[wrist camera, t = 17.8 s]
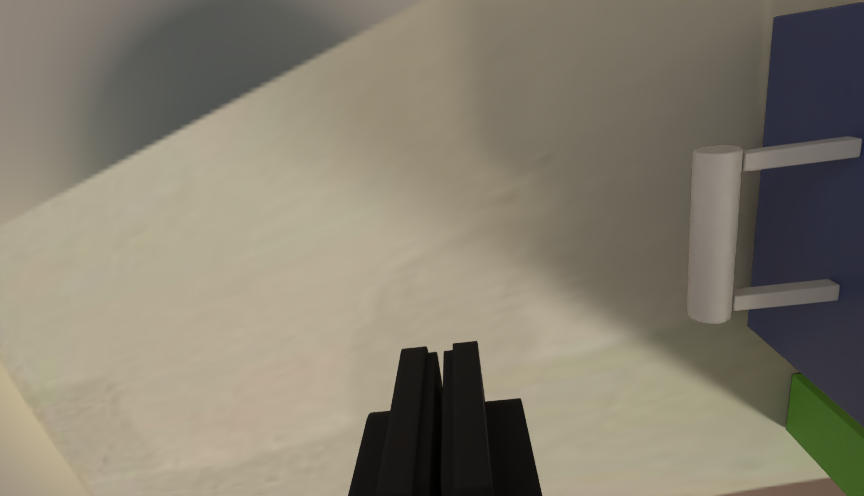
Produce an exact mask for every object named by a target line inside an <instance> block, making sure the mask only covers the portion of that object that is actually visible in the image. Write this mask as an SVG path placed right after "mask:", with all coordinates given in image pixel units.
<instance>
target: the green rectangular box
mask: <svg viewBox="0 0 864 496" xmlns="http://www.w3.org/2000/svg"><path fill="white" fill-rule="evenodd" d="M786 430H787V431H788V432H789V433H790V434H791V435H792V436H793V437H794V439H795V440H796V441H797V442H798V443H799V444H800V445H801V446H802V447H803V448H804V449H805V451H806V452H807V453H808V454H809V455H810V456H811V457H812V458H813V459H814V460H815V461H816V462H817V464H818V465H819V466H820V467H821V468H822V469H823V470H824V471H825V472H826V473H827V474H828V475H829V477H830V478H831V479H832V480H833V481H834V482H835V483H836V484H837V485H838V486H839V487H840V488H841V489H842V491H843V492H844V493H845V494H846V495H847V496H864V427H862V426H861V425H860V424H859V423H858V422H857V421H856V420H854V419H853V418H852V417H851V416H850V415H849V414H848V413H846V412H845V411H844V410H843V409H842V408H841V407H840V406H838V405H837V404H836V403H835V402H834V401H833V400H832V399H830V398H829V397H828V396H827V395H826V394H825V393H824V392H822V391H821V390H820V389H819V388H818V387H817V386H816V385H814V384H813V383H812V382H811V381H810V380H809V379H808V378H806V377H805V376H804V375H803V374H802V373H801V374H793V376H792V384H791V392H790V400H789V408H788V416H787V423H786Z"/></svg>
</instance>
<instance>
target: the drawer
mask: <svg viewBox="0 0 864 496" xmlns="http://www.w3.org/2000/svg"><path fill="white" fill-rule="evenodd" d="M754 170H761V172H760V184H759V196H758V207H757V219H756V231H755V242H754V254H753V266H752V277H751V287H748V288H738V289H733V283H734V270H735V256H736V242H737V228H738V214H739V200H740V187H741V173H742V171H744V172H746V171H754ZM732 310H733V311H740V310H749V313H748V324H747V325H748V327H749V328H750V329H752V330H753V331H754V332H755V333H756V334H757V335H758V336H760V337H761V338H762V339H763V340H764V341H765V342H766V343H768V344H769V345H770V346H771V347H772V348H773V349H774V350H776V351H777V352H778V353H779V354H780V355H781V356H782V357H784V358H785V359H786V360H787V361H788V362H789V363H790V364H792V365H793V366H794V367H795V368H796V369H797V370H798V371H800V372H801V373H802V374H803V375H804V376H805V377H806V378H808V379H809V380H810V381H811V382H812V383H813V384H814V385H816V386H817V387H818V388H819V389H820V390H821V391H822V392H824V393H825V394H826V395H827V396H828V397H829V398H830V399H832V400H833V401H834V402H835V403H836V404H837V405H838V406H840V407H841V408H842V409H843V410H844V411H845V412H846V413H848V414H849V415H850V416H851V417H852V418H853V419H854V420H856V421H857V422H858V423H859V424H860V425H861V426H862V427H864V2H860V3H854V4H848V5H842V6H836V7H830V8H824V9H818V10H812V11H806V12H800V13H794V14H787V15H781V16H776V17H774V20H773V32H772V44H771V55H770V67H769V79H768V90H767V102H766V114H765V125H764V137H763V148H755V149H747V150H743V149H742V147H739V146H734V145H712V146H704V147H700V148H697V149H695V150H693V152H692V179H691V205H690V232H689V259H688V286H687V314H688V316H689V317H690V318H692V319H693V320H696V321H698V322H702V323H708V324H719V323H724V322H726V321H728V320H729V319H730V318H731V311H732Z"/></svg>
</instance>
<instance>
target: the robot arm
mask: <svg viewBox="0 0 864 496" xmlns="http://www.w3.org/2000/svg"><path fill="white" fill-rule="evenodd" d="M348 496H542V492H541V488H540V483H539V479H538V474H537V470H536V465H535V460H534V456H533V451H532V447H531V442H530V437H529V433H528V428H527V424H526V419H525V414H524V410H523V405H522V401H521V398H518V399H508V400H498V401H487V402H485V397H484V389H483V381H482V373H481V366H480V358H479V350H478V343H477V341H472V342H463V343H454V344H453V350H450V351H444V364H443V386H442V380H441V373H440V367H439V361H438V355H437V352H431V353H428V349H427V347H426V346H425V347H416V348H407V349H402V350H401V354H400V360H399V365H398V371H397V377H396V382H395V388H394V393H393V399H392V404H391V410H390V411H383V412H373V413H370V414H369V415H368V418H367V421H366V425H365V429H364V433H363V437H362V441H361V445H360V449H359V453H358V457H357V461H356V466H355V470H354V474H353V478H352V482H351V486H350V490H349V494H348Z"/></svg>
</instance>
